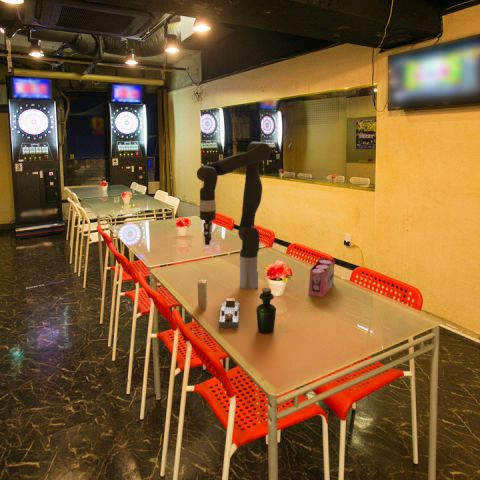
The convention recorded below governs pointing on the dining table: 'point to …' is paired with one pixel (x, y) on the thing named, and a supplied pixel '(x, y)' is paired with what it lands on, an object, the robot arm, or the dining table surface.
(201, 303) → the wood grain block
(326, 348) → the dining table surface
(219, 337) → the dining table surface
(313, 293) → the gum box
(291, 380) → the dining table surface
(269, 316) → the potion bottle
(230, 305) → the hand plane
